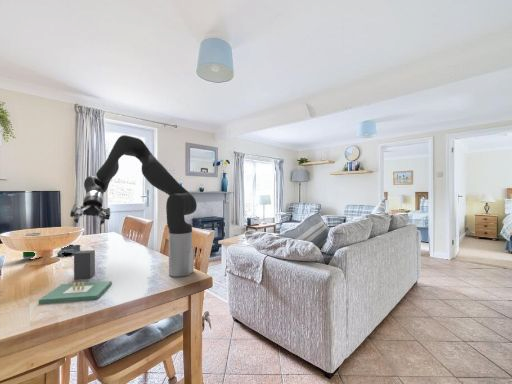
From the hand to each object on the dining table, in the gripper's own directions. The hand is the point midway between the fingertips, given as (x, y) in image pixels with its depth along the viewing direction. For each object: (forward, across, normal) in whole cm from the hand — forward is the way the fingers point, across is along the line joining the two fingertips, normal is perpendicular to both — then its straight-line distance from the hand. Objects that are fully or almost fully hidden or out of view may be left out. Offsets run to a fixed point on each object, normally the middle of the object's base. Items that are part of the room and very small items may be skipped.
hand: (89, 222), depth 100 cm
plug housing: (+16, +2, +15) cm, 22 cm away
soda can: (-21, -20, +40) cm, 49 cm away
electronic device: (-23, -6, +40) cm, 46 cm away
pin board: (+30, +1, +7) cm, 31 cm away
